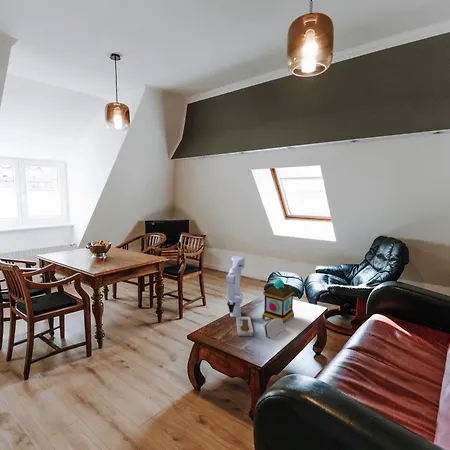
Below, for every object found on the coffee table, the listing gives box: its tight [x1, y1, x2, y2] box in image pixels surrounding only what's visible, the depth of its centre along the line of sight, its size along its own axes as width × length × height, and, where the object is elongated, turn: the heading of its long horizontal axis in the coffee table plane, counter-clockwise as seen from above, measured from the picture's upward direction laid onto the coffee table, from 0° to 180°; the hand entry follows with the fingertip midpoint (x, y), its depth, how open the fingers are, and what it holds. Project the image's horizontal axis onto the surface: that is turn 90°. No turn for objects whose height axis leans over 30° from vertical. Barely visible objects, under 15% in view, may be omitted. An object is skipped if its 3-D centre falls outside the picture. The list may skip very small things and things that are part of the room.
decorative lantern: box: [261, 278, 295, 324], centre depth 216 cm, size 20×20×30 cm
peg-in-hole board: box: [235, 316, 254, 337], centre depth 205 cm, size 22×10×3 cm, turn 1°
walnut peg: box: [242, 319, 248, 330], centre depth 198 cm, size 4×4×8 cm
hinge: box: [263, 318, 288, 340], centre depth 197 cm, size 17×5×10 cm, turn 130°
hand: (230, 310), depth 208 cm, fingers open, 7 cm apart
